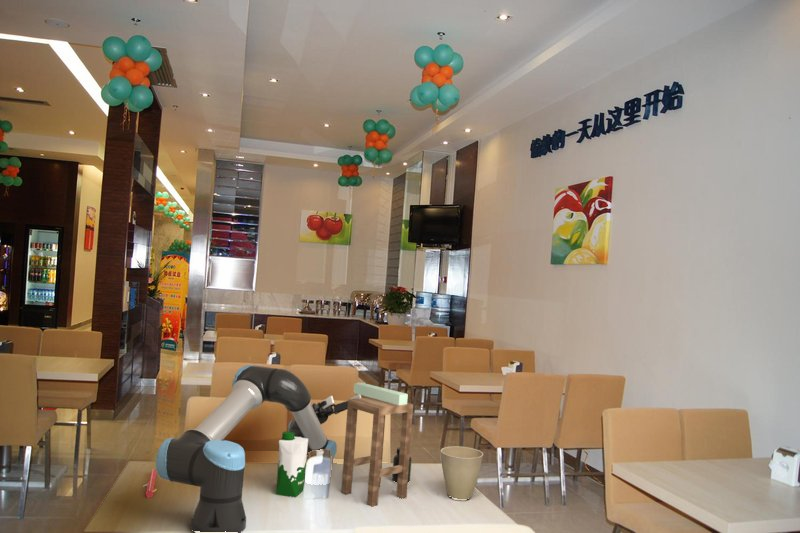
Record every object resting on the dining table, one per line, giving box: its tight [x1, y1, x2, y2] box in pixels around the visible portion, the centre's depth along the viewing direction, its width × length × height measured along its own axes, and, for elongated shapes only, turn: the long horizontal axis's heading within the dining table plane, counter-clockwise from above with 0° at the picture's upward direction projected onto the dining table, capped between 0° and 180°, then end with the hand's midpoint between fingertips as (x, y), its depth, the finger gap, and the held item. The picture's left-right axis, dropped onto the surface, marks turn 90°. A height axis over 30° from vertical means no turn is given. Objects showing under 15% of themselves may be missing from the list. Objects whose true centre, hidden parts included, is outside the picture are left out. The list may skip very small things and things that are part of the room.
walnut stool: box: [340, 396, 414, 508], centre depth 210 cm, size 16×16×32 cm
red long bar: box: [142, 468, 157, 499], centre depth 203 cm, size 24×2×5 cm
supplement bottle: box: [391, 446, 413, 483], centre depth 227 cm, size 7×7×12 cm
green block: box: [353, 382, 409, 405], centre depth 217 cm, size 24×4×4 cm, turn 44°
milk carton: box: [275, 430, 308, 498], centre depth 206 cm, size 9×9×20 cm
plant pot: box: [440, 446, 484, 499], centre depth 214 cm, size 15×15×16 cm
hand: (346, 397), depth 230 cm, fingers open, 13 cm apart
